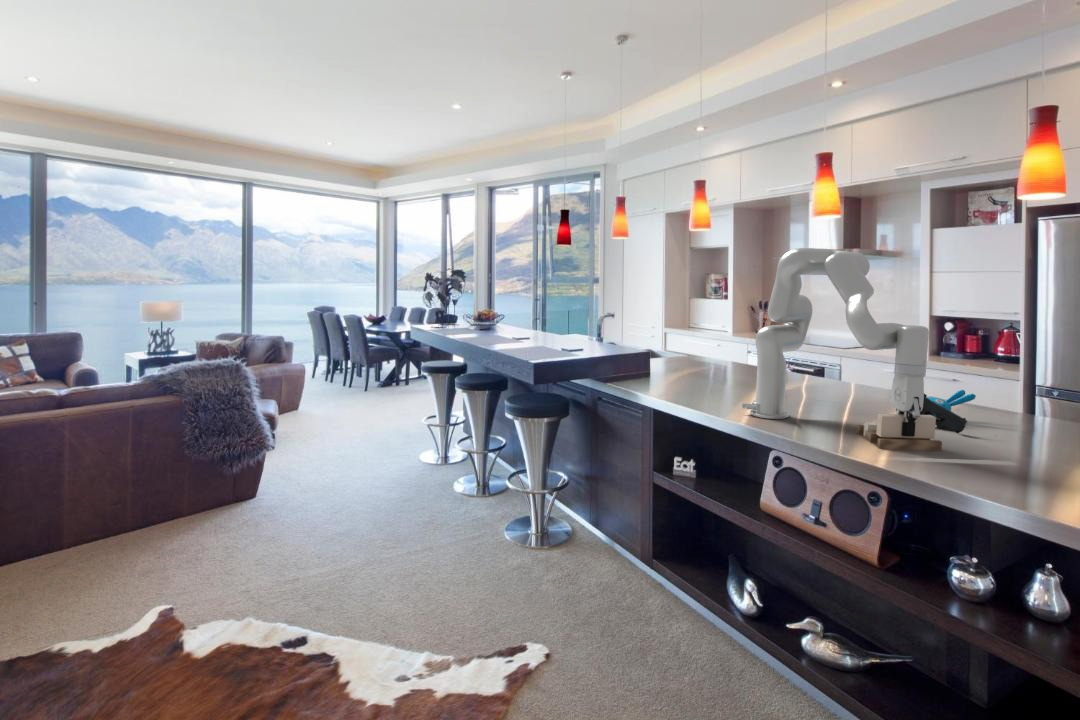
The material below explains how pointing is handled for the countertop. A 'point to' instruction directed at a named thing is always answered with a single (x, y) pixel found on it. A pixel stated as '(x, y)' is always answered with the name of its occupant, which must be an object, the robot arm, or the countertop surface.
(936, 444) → the rack
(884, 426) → the clay bar
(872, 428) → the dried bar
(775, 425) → the countertop surface
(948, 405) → the toy
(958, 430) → the handgun
